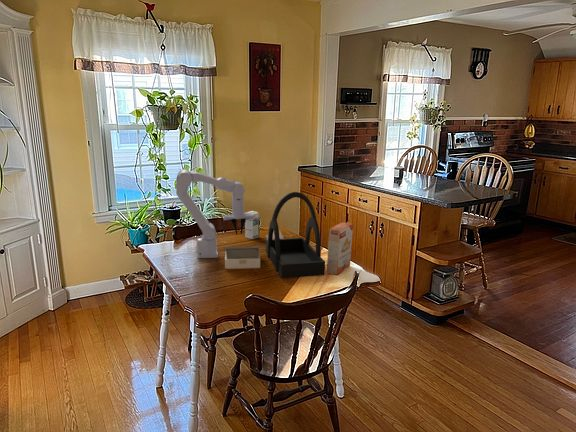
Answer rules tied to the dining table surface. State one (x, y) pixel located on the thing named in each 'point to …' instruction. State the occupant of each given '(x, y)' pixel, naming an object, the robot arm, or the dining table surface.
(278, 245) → the basket
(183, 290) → the dining table surface
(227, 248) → the lid
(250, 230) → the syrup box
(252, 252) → the box
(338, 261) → the cracker box
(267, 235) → the packaged product
